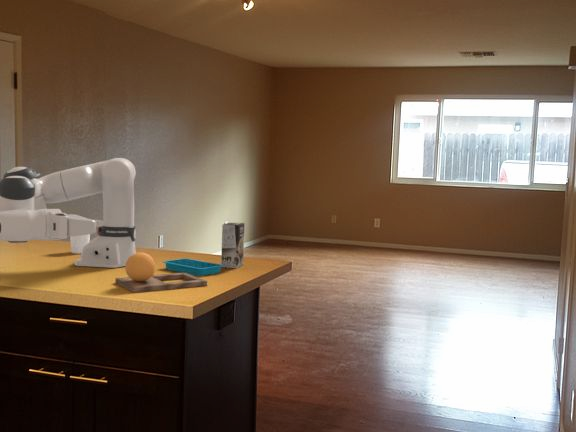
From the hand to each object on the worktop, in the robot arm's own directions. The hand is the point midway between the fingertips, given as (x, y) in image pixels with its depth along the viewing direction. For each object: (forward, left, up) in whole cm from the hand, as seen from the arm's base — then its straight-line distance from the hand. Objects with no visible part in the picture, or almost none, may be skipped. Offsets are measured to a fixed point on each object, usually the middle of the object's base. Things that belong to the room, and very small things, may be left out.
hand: (101, 222), depth 187 cm
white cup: (-23, +71, -20) cm, 77 cm away
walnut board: (+17, +10, -20) cm, 28 cm away
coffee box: (+39, +46, -20) cm, 63 cm away
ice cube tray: (+25, +35, -21) cm, 47 cm away
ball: (+10, +6, -14) cm, 19 cm away
